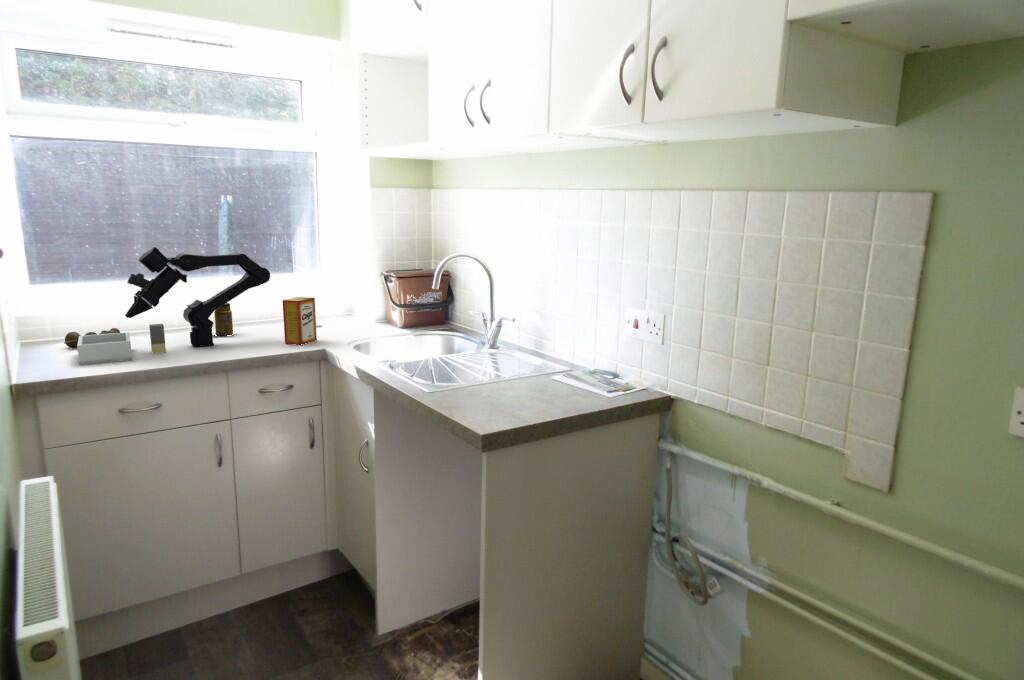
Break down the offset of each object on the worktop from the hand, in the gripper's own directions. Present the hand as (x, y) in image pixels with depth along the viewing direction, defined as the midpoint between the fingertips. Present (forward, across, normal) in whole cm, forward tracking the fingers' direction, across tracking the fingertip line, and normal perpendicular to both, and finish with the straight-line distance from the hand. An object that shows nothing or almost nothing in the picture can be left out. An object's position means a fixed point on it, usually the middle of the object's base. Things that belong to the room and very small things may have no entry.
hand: (127, 316), depth 218 cm
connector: (+2, 0, +14) cm, 15 cm away
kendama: (+14, -22, +1) cm, 26 cm away
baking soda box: (-30, +8, +45) cm, 55 cm away
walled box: (+13, +1, +4) cm, 14 cm away
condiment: (-17, -20, +29) cm, 39 cm away
